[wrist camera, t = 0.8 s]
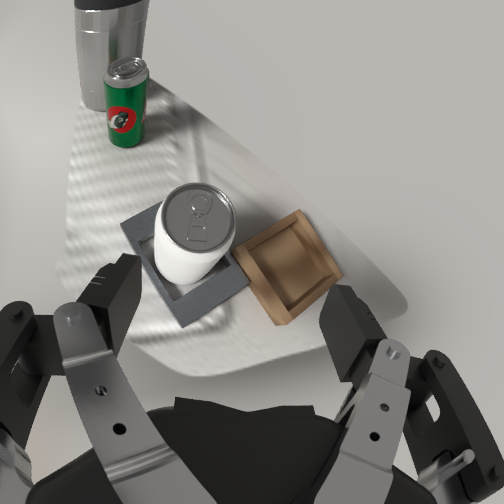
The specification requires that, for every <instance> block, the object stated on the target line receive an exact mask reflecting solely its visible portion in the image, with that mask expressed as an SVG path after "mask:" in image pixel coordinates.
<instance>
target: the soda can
mask: <svg viewBox="0 0 504 504" xmlns="http://www.w3.org/2000/svg"><path fill="white" fill-rule="evenodd" d="M103 82H104V96H105V107H106V117H107V126H108V134H109V139H110V141H111V142H112V143H113V144H114V145H116V146H118V147H131V146H134V145H136V144H137V143H139V142H140V141H141V140H142V139H143V137H144V135H145V125H146V107H147V93H148V82H149V70H148V68H147V65H146V63H145V61H144V60H142V59H140V58H137V57H124V58H120V59H117V60H115V61H113V62H112V63H111V64H110V65H109V66H108V67H107V70H106V73H105V75H104V77H103Z"/></svg>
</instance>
